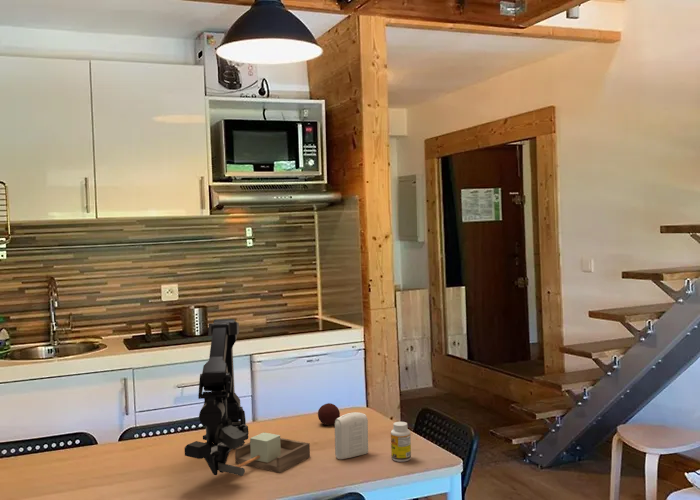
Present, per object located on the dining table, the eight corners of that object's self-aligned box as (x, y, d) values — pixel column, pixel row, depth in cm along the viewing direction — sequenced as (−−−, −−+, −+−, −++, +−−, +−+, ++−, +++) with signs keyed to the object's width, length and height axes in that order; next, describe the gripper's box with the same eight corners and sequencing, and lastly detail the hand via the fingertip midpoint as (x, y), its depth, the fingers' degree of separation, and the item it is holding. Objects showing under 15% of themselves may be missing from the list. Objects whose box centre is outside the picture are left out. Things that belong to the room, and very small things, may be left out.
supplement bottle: (390, 456, 195) (389, 421, 195) (409, 455, 196) (408, 420, 195) (392, 462, 190) (391, 426, 189) (412, 462, 190) (411, 426, 190)
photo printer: (362, 449, 201) (361, 408, 201) (370, 453, 198) (369, 411, 197) (333, 457, 196) (331, 414, 195) (341, 461, 192) (339, 418, 192)
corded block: (211, 473, 181) (210, 451, 181) (259, 451, 197) (258, 431, 197) (240, 480, 175) (239, 457, 175) (286, 457, 192) (285, 436, 192)
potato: (316, 427, 224) (315, 406, 224) (320, 420, 232) (320, 400, 232) (337, 428, 223) (337, 407, 223) (342, 421, 231) (341, 400, 231)
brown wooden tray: (235, 462, 193) (235, 449, 193) (267, 448, 205) (266, 435, 205) (279, 472, 184) (279, 458, 184) (309, 457, 196) (309, 443, 196)
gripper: (213, 429, 168) (216, 491, 169) (262, 410, 184) (264, 467, 184) (181, 423, 174) (184, 483, 175) (231, 405, 190) (233, 460, 190)
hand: (218, 473), depth 181 cm, fingers closed on corded block, 2 cm apart
